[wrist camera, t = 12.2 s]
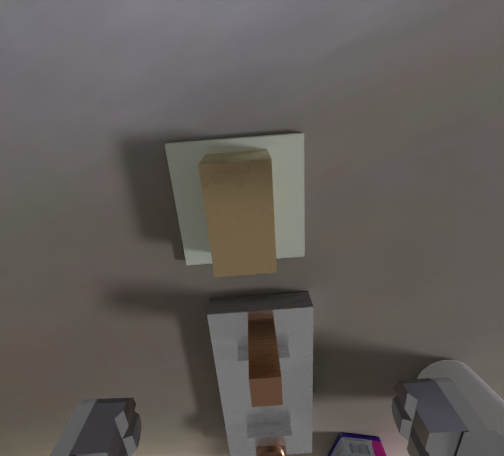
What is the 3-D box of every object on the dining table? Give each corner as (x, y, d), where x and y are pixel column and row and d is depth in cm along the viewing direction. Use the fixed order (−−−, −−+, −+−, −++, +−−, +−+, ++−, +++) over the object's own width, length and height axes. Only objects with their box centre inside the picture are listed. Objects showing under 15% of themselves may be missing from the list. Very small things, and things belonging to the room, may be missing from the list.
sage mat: (166, 142, 25) (164, 144, 24) (302, 132, 25) (303, 133, 24) (188, 260, 29) (186, 265, 28) (303, 252, 29) (304, 256, 28)
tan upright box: (205, 154, 24) (198, 164, 21) (267, 149, 24) (271, 158, 21) (218, 253, 28) (214, 277, 24) (272, 249, 28) (277, 272, 24)
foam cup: (495, 382, 37) (615, 519, 25) (425, 416, 39) (505, 557, 27) (461, 335, 34) (580, 467, 22) (388, 375, 36) (459, 514, 24)
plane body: (209, 298, 31) (196, 378, 22) (308, 291, 31) (333, 368, 22) (231, 437, 40) (227, 533, 31) (308, 432, 40) (326, 527, 31)
